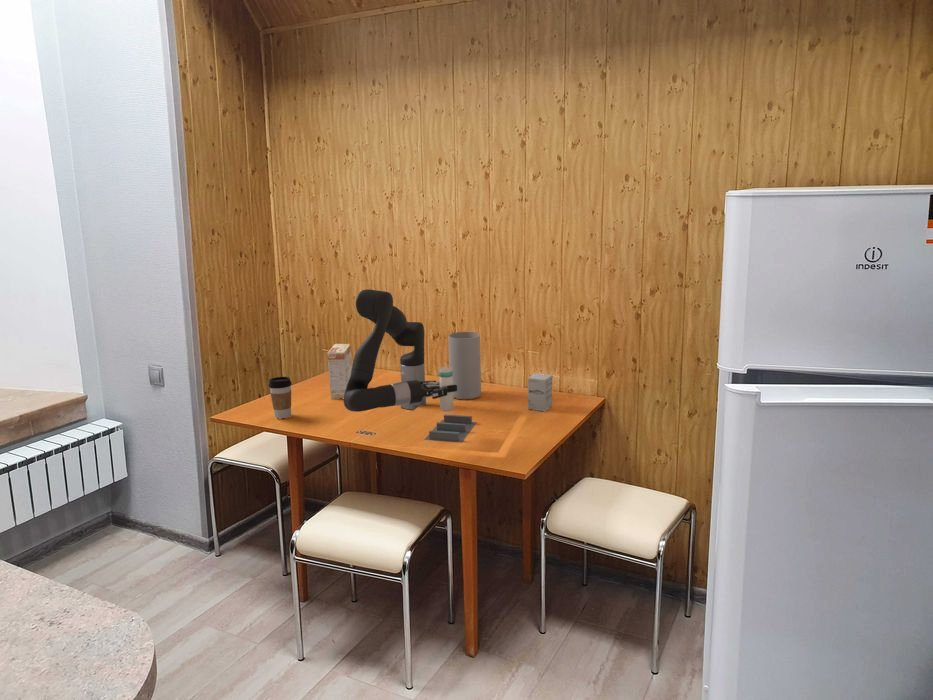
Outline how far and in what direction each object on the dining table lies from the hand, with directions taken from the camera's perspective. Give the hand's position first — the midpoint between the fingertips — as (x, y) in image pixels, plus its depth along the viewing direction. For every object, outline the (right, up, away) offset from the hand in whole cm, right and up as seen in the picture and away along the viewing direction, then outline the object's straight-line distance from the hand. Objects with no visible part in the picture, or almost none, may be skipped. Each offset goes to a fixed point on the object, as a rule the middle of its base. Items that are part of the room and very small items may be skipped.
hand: (453, 385), depth 243 cm
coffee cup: (-65, -13, +31) cm, 73 cm away
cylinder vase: (+4, -7, +50) cm, 51 cm away
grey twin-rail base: (-1, -17, +7) cm, 19 cm away
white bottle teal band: (-2, -8, +1) cm, 8 cm away
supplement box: (+32, -10, +33) cm, 47 cm away
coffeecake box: (-47, -6, +57) cm, 74 cm away
